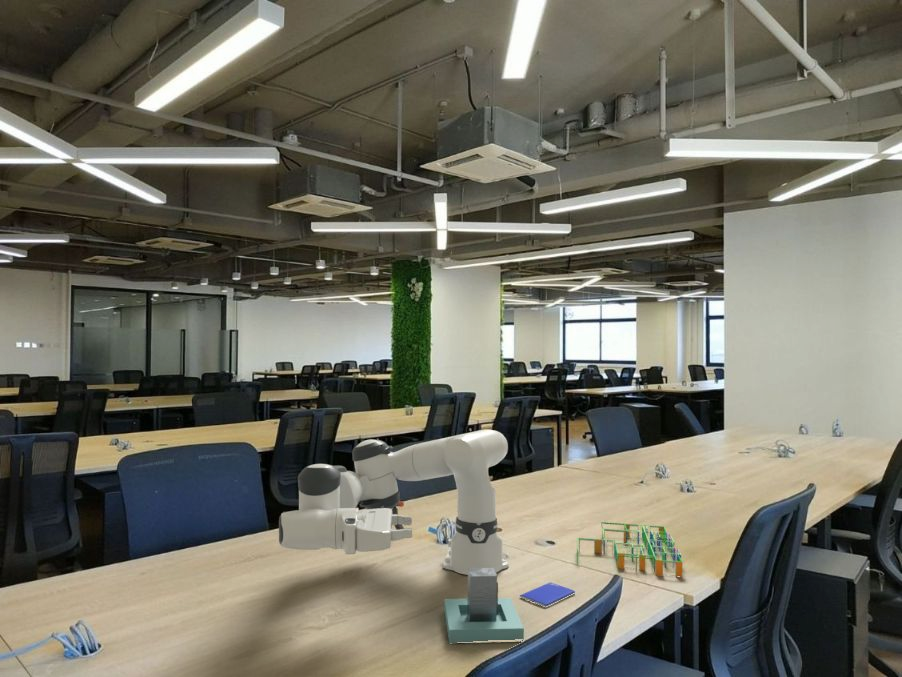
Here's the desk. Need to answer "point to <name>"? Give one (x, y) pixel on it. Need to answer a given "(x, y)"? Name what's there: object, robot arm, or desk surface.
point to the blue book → (547, 594)
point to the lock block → (482, 595)
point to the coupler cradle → (482, 623)
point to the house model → (651, 555)
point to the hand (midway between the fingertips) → (411, 526)
